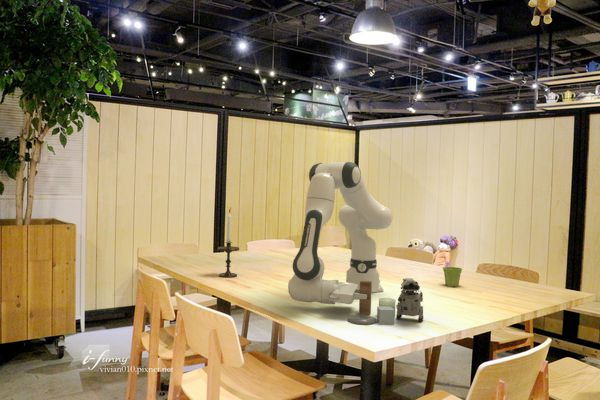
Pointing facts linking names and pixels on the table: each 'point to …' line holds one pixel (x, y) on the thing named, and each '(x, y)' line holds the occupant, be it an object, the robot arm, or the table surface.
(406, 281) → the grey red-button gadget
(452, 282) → the plant pot
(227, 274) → the candlestick
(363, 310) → the walnut block
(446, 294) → the table surface
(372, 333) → the table surface
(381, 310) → the bluegrey cube
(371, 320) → the slate coaster
